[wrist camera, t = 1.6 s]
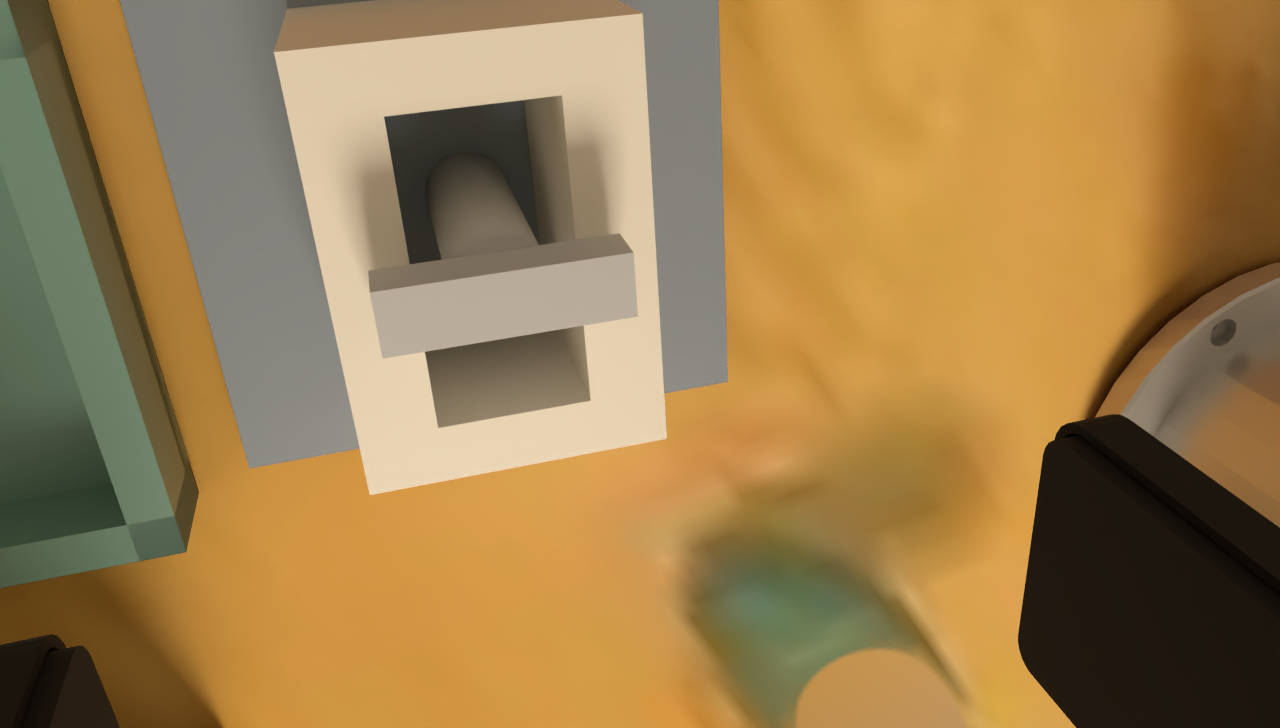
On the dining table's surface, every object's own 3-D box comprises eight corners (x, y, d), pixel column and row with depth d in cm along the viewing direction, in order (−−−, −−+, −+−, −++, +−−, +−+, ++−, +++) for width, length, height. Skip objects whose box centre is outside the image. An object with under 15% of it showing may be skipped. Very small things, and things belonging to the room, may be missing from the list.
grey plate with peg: (700, -127, 22) (851, -115, 16) (715, 365, 28) (832, 525, 21) (108, -80, 20) (-3, -44, 14) (252, 447, 26) (223, 655, 19)
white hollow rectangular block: (287, 8, 21) (273, 51, 16) (581, -20, 22) (642, 13, 18) (363, 380, 25) (370, 495, 20) (611, 338, 26) (666, 438, 21)
